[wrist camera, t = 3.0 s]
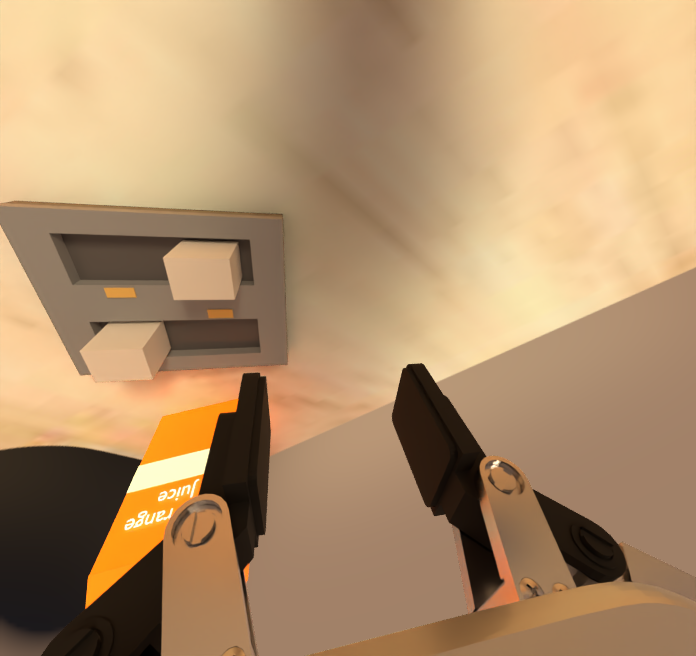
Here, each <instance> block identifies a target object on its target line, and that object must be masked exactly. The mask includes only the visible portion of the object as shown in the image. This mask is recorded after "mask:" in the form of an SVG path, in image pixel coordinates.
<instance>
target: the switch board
mask: <svg viewBox="0 0 696 656" xmlns="http://www.w3.org/2000/svg"><path fill="white" fill-rule="evenodd" d="M0 225H1V227H2V229H3V231H4V233H5V234H6V236H7V238H8V240H9V242H10V244H11V246H12V248H13V250H14V251H15V253H16V255H17V257H18V259H19V261H20V263H21V265H22V267H23V268H24V270H25V272H26V274H27V276H28V278H29V280H30V282H31V284H32V285H33V287H34V289H35V291H36V293H37V295H38V297H39V299H40V300H41V302H42V304H43V306H44V308H45V310H46V312H47V314H48V316H49V317H50V319H51V321H52V323H53V325H54V327H55V329H56V331H57V333H58V334H59V336H60V338H61V340H62V342H63V344H64V346H65V348H66V350H67V351H68V353H69V355H70V357H71V359H72V361H73V363H74V365H75V366H76V368H77V370H78V372H79V374H80V375H91V373H90V371H89V369H88V367H87V365H86V363H85V361H84V359H83V357H82V355H81V353H80V350H81V349H82V348H83V347H84V346H85V345H86V344H87V343H88V342H89V341H90V340H91V339H93V338H94V337H95V336H96V335H97V334H98V333H99V332H100V331H101V330H102V329H103V328H104V327H105V326H106V325H107V324H108V323H109V322H119V321H163V322H164V326H165V329H166V332H167V336H168V339H169V343H170V346H171V349H170V351H169V353H168V354H167V356H166V358H165V360H164V361H163V363H162V365H161V367H160V368H159V370H158V371H173V370H192V369H211V368H230V367H249V366H268V365H288V352H287V324H286V297H285V269H284V241H283V214H265V213H245V212H225V211H205V210H186V209H166V208H146V207H126V206H107V205H87V204H67V203H47V202H28V201H12V202H7V203H1V204H0ZM182 240H201V241H233V242H238V245H239V253H240V262H241V270H242V280H241V283H240V286H239V289H238V292H237V295H236V298H235V300H174V299H173V295H172V291H171V287H170V283H169V280H168V276H167V272H166V268H165V264H164V260H163V257H164V256H165V255H166V254H168V253H169V252H170V251H171V250H172V249H173V248H174V247H175V246H177V245H178V244H179V243H180V242H181V241H182Z"/></svg>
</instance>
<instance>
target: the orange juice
mask: <svg viewBox="0 0 696 656" xmlns="http://www.w3.org/2000/svg"><path fill="white" fill-rule="evenodd" d="M237 403H238V399H235V400H231V401H227V402H222V403H218V404H214V405H210V406H205V407H201V408H197V409H192V410H188V411H184V412H180V413H175V414H171V415H167V416H163V417H162V419H161V421H160V423H159V425H158V427H157V430H156V432H155V434H154V436H153V438H152V440H151V443H150V445H149V447H148V449H147V451H146V453H145V456H144V458H143V460H142V462H141V464H140V466H139V467H138V469H137V472H136V474H135V476H134V478H133V480H132V483H131V484H130V487H129V489H128V491H127V495H126V497H125V499H124V502H123V504H122V506H121V508H120V510H119V512H118V514H117V517H116V519H115V521H114V523H113V526H112V528H111V530H110V532H109V534H108V536H107V539H106V541H105V543H104V545H103V547H102V549H101V551H100V554H99V556H98V558H97V561H96V562H95V565H94V567H93V569H92V571H91V573H90V575H89V576H88V588H87V599H86V608H87V607H88V606H89V605H90V604H92V603H93V602H94V601H95V600H96V599H97V598H98V597H99V596H100V595H102V594H103V593H104V592H105V591H106V590H107V589H108V588H109V587H110V586H112V585H113V584H114V583H115V582H116V581H117V580H118V579H119V578H120V577H122V576H123V575H124V574H125V573H126V572H127V571H128V570H129V569H131V568H132V567H133V566H134V565H135V564H136V563H137V562H138V561H139V560H141V559H142V558H143V557H144V556H145V555H146V554H147V553H148V552H149V551H151V550H152V549H153V548H154V547H155V546H156V545H157V544H158V543H159V542H161V541H162V540H163V537H164V532H165V527H166V525H167V523H168V521H169V519H170V517H171V516H172V515H173V513H174V512H175V511H176V510H177V508H179V507H180V506H181V505H182V504H183V503H185V502H186V501H188V500H190V499H191V498H193V497H195V496H198V494H199V490H200V486H201V482H202V478H203V474H204V470H205V466H206V462H207V458H208V454H209V450H210V446H211V443H212V439H213V435H214V431H215V427H216V423H217V419H218V416H219V414H220V413H227V412H236V409H237ZM248 570H249V564H248V565H247V566H246V568H245V569H244V574H245V579H246V581H247V580H248Z"/></svg>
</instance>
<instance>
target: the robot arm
mask: <svg viewBox="0 0 696 656" xmlns="http://www.w3.org/2000/svg"><path fill="white" fill-rule="evenodd" d="M392 421H393V425H394V427H395V430H396V432H397V435H398V437H399V440H400V442H401V445H402V447H403V450H404V452H405V455H406V458H407V460H408V463H409V465H410V468H411V470H412V473H413V475H414V478H415V480H416V483H417V485H418V488H419V490H420V493H421V496H422V498H423V500H424V503H425V505H426V506H427V507H431V509H432V512H433V515H434V516H438V515H444V514H446V517H447V519H448V521H449V523H451V524H452V528H453V533H454V539H455V544H456V549H457V555H458V560H459V565H460V571H461V576H462V582H463V587H464V592H465V597H466V603H467V609H468V614H466V615H462V616H458V617H454V618H450V619H446V620H442V621H438V622H435V623H430V624H427V625H423V626H419V627H415V628H411V629H407V630H403V631H399V632H395V633H391V634H387V635H384V636H379V637H376V638H372V639H368V640H364V641H360V642H356V643H352V644H349V645H345V646H341V647H337V648H334V649H329V650H325V651H322V652H318V653H315V654H310V655H307V656H696V577H694V576H692V575H690V574H688V573H686V572H684V571H682V570H679V569H678V568H675V567H673V566H671V565H669V564H667V563H665V562H663V561H661V560H659V559H657V558H655V557H652V556H650V555H648V554H646V553H644V552H642V551H640V550H638V549H636V548H634V547H632V546H630V545H628V544H625V543H623V542H621V543H619V544H617V543H616V542H615V541H614V539H613V538H612V537H611V536H610V535H609V534H608V533H607V532H606V531H605V530H604V529H603V528H601V527H600V526H599V525H597V524H595V523H594V522H592V521H591V520H589V519H587V518H585V517H583V516H581V515H579V514H578V513H576V512H574V511H572V510H570V509H568V508H567V507H565V506H563V505H561V504H559V503H557V502H556V501H554V500H552V499H550V498H548V497H546V496H544V495H543V494H541V493H539V492H537V491H535V490H533V489H532V487H531V485H530V483H529V481H528V479H527V477H526V476H525V474H524V473H523V472H522V470H521V469H520V468H519V467H518V466H516V465H515V464H513V463H512V462H510V461H509V460H507V459H505V458H502V457H499V456H488V457H486V455H485V454H484V452H483V451H482V449H481V448H480V446H479V445H478V443H477V441H476V440H475V438H474V437H473V435H472V434H471V432H470V431H469V429H468V428H467V426H466V425H465V423H464V422H463V420H462V419H461V417H460V416H459V414H458V413H457V411H456V409H455V408H454V406H453V405H452V404H451V402H450V400H449V399H448V398H447V397H446V396H444V395H443V394H442V392H441V390H440V389H439V387H438V386H437V384H436V383H435V381H434V380H433V378H432V376H431V375H430V373H429V372H428V370H427V369H426V367H425V366H424V364H422V363H420V364H408V365H407V367H406V368H403V370H402V374H401V378H400V383H399V387H398V391H397V396H396V400H395V404H394V409H393V413H392ZM270 435H271V429H270V416H269V405H268V394H267V383H266V376H262V377H260V373H244V374H243V377H242V382H241V387H240V393H239V398H238V403H237V409H236V412H227V413H220V414H219V416H218V419H217V423H216V427H215V431H214V435H213V439H212V443H211V446H210V450H209V454H208V458H207V462H206V466H205V470H204V474H203V478H202V482H201V486H200V490H199V494H198V496H195V497H193V498H191V499H190V500H188V501H186V502H185V503H183V504H182V505H181V506H180V507H179V508H177V510H176V511H175V512H174V513H173V515H172V516H171V517H170V519H169V521H168V523H167V525H166V527H165V532H164V537H163V540H162V541H161V542H159V543H158V544H157V545H156V546H155V547H154V548H153V549H152V550H151V551H149V552H148V553H147V554H146V555H145V556H144V557H143V558H142V559H141V560H139V561H138V562H137V563H136V564H135V565H134V566H133V567H132V568H131V569H129V570H128V571H127V572H126V573H125V574H124V575H123V576H122V577H120V578H119V579H118V580H117V581H116V582H115V583H114V584H113V585H112V586H110V587H109V588H108V589H107V590H106V591H105V592H104V593H103V594H102V595H100V596H99V597H98V598H97V599H96V600H95V601H94V602H93V603H92V604H90V605H89V606H88V607H87V608H86V609H85V610H84V611H83V612H82V613H80V614H79V615H78V616H77V617H76V618H75V619H74V620H73V621H71V622H70V624H68V625H67V626H66V627H65V628H64V629H63V630H62V631H61V632H60V633H59V634H58V635H57V636H56V637H55V638H54V639H53V640H52V641H51V642H50V644H49V645H48V647H47V648H46V650H45V651H44V652H43V654H42V655H41V656H258V650H257V644H256V639H255V632H254V626H253V620H252V615H251V609H250V603H249V597H248V592H247V586H246V579H245V574H244V569H245V568H246V566H247V565H248V564H249V563H250V561H251V560H252V559H253V557H254V548H255V547H258V537H259V535H265V531H266V513H267V493H268V473H269V455H270Z"/></svg>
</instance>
